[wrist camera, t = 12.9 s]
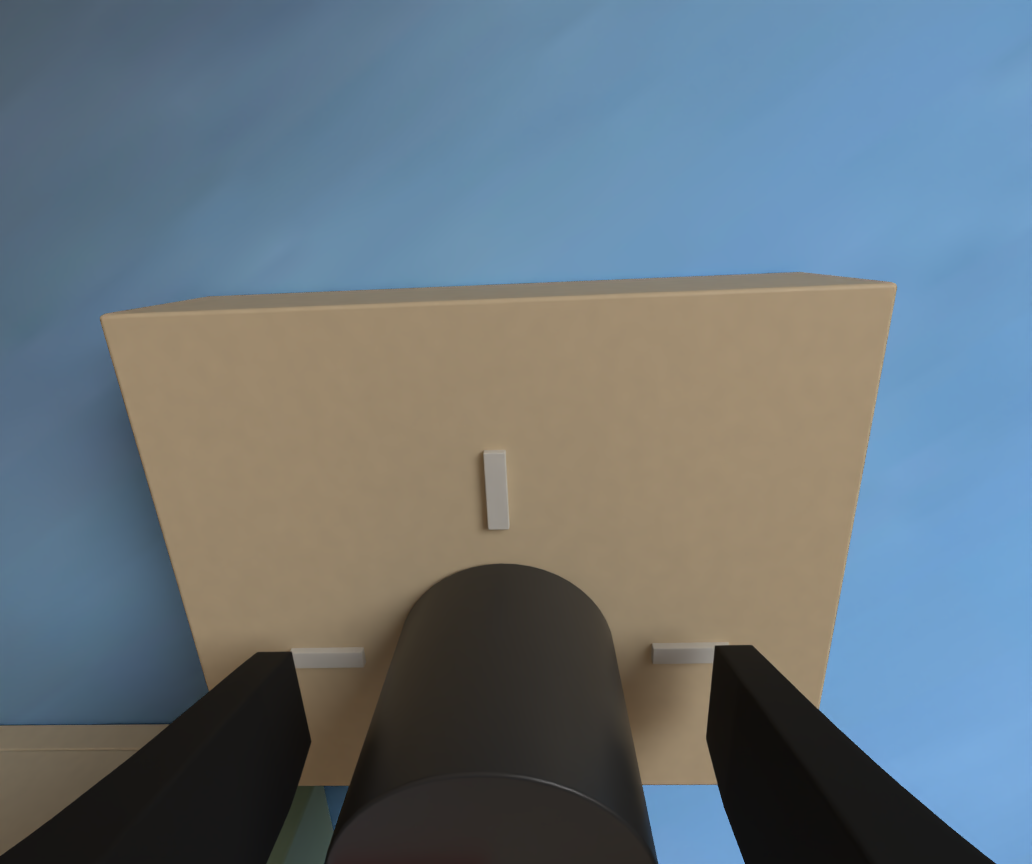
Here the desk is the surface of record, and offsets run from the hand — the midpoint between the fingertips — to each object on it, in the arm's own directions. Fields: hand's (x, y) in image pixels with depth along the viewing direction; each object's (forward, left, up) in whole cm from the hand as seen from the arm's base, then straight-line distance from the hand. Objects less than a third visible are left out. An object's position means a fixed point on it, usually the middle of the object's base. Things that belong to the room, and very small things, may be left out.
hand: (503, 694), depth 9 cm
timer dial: (0, 0, -1) cm, 1 cm away
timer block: (+2, 0, -4) cm, 4 cm away
